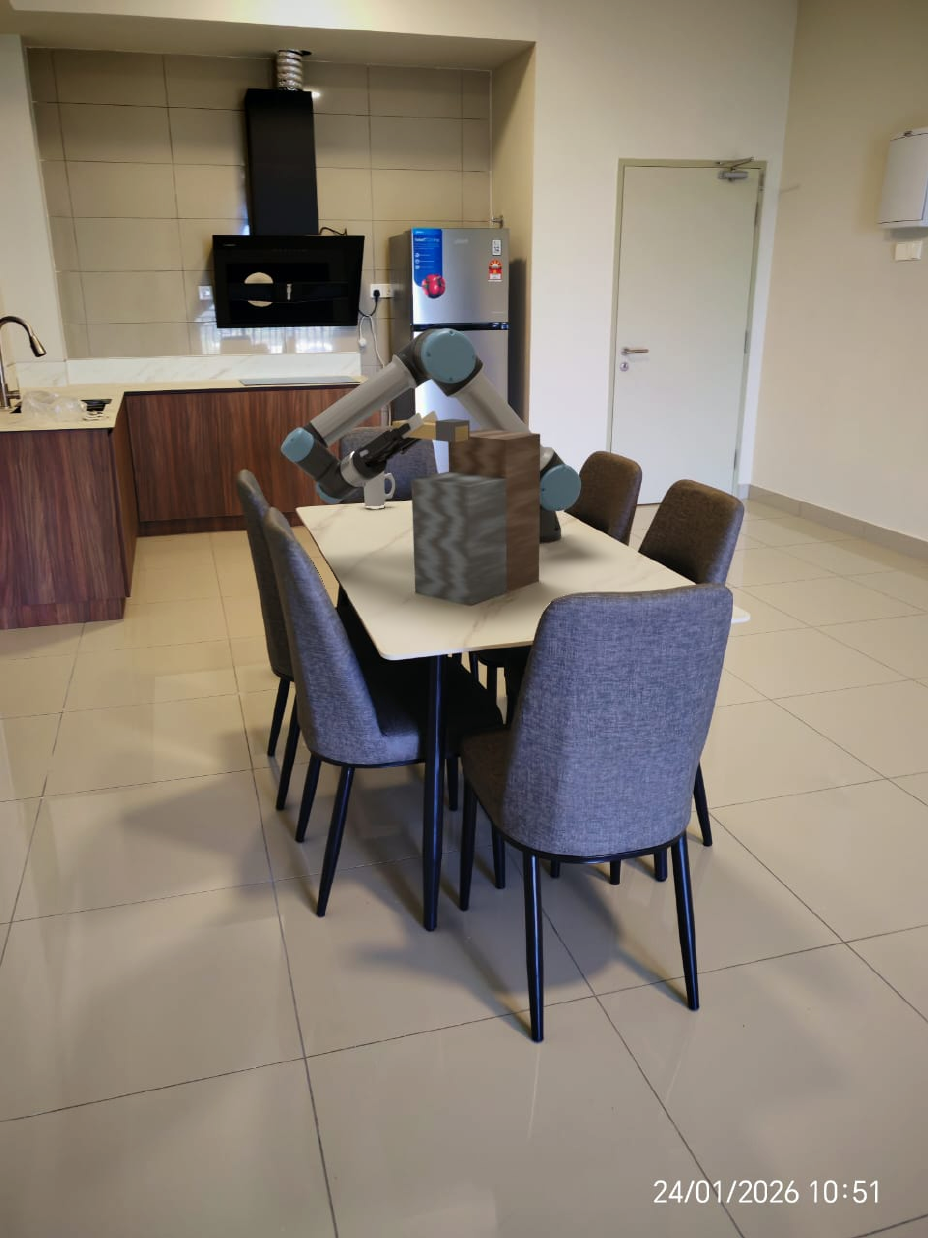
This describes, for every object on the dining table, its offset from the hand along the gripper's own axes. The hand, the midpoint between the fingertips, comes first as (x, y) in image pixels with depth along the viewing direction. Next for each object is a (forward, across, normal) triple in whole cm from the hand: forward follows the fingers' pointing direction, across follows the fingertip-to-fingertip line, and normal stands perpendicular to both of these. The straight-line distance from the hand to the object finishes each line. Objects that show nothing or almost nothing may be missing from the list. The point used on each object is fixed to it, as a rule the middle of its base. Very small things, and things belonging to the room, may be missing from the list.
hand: (428, 417), depth 196 cm
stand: (-12, -6, -36) cm, 39 cm away
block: (-2, 0, -4) cm, 4 cm away
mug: (-82, -56, +4) cm, 100 cm away
